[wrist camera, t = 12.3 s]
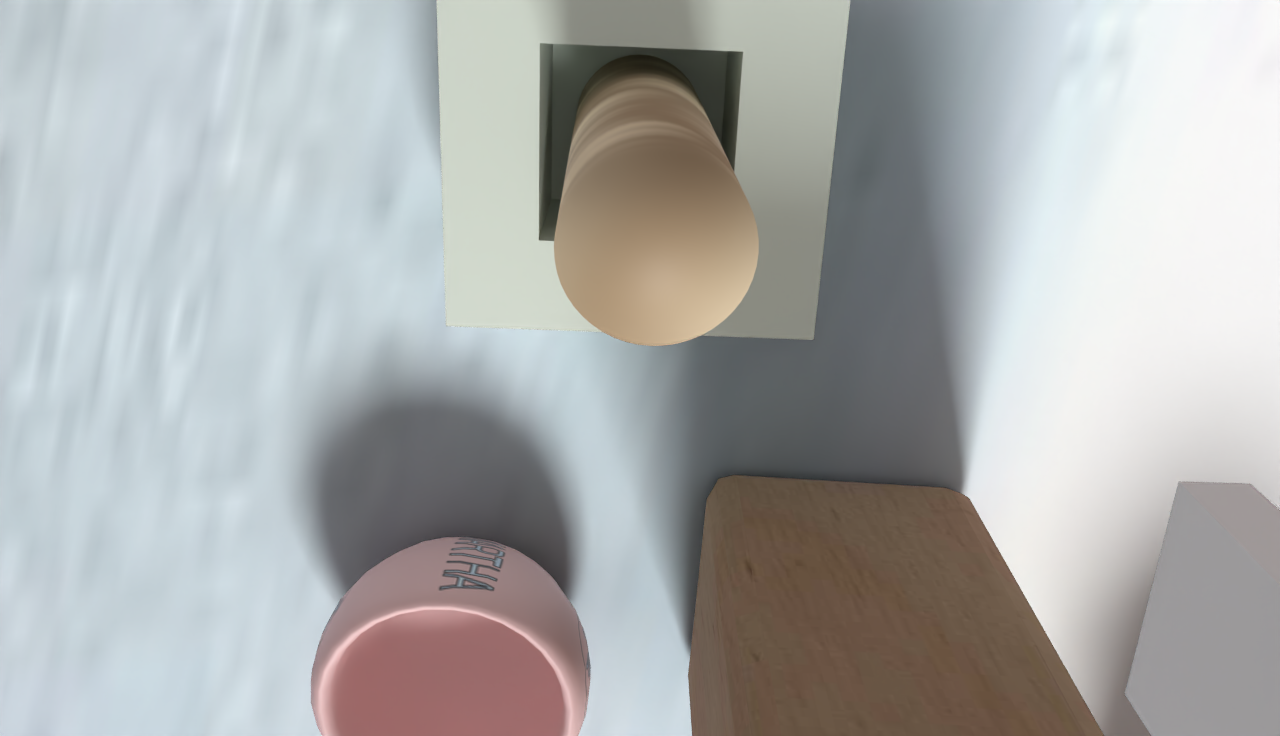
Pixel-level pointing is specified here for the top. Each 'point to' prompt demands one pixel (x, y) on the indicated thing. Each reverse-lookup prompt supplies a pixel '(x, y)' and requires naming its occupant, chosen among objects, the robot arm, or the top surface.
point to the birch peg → (651, 210)
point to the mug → (452, 648)
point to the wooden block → (865, 619)
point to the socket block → (544, 121)
